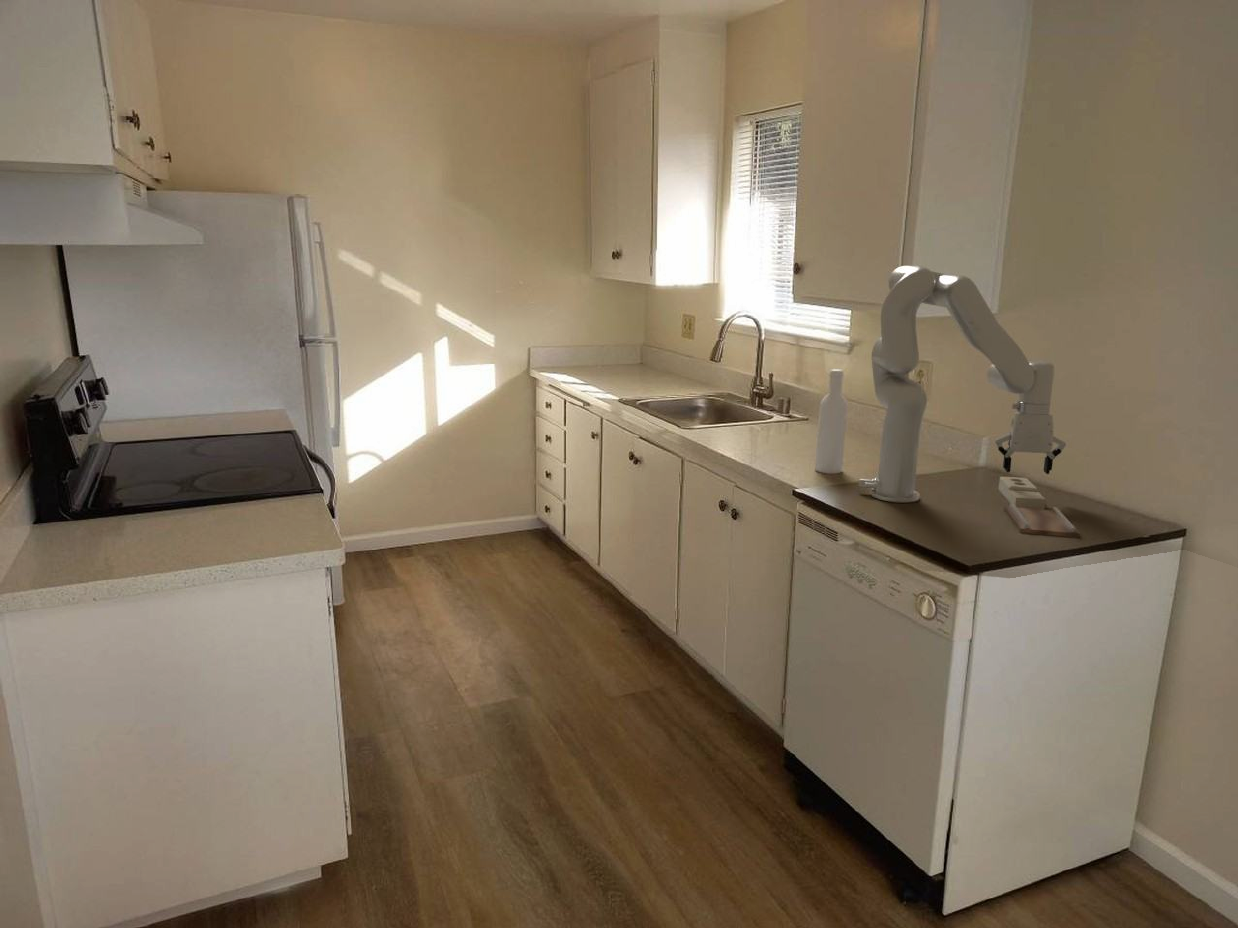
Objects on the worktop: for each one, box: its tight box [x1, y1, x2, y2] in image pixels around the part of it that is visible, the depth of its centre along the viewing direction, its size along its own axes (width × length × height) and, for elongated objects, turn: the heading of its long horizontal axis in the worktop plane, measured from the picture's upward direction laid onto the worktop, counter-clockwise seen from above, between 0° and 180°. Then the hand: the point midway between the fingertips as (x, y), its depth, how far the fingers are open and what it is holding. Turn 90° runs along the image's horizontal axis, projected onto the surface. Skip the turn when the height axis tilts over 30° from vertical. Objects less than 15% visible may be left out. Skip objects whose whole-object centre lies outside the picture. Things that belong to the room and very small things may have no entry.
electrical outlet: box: [998, 476, 1047, 510], centre depth 230 cm, size 7×4×18 cm
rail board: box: [1003, 503, 1081, 538], centre depth 210 cm, size 13×18×2 cm
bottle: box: [814, 368, 849, 475], centre depth 252 cm, size 8×8×30 cm
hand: (1026, 471), depth 229 cm, fingers open, 9 cm apart
